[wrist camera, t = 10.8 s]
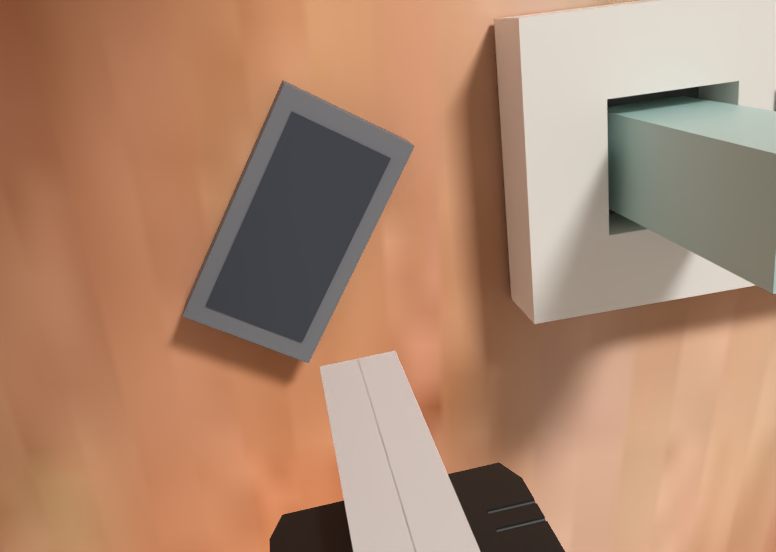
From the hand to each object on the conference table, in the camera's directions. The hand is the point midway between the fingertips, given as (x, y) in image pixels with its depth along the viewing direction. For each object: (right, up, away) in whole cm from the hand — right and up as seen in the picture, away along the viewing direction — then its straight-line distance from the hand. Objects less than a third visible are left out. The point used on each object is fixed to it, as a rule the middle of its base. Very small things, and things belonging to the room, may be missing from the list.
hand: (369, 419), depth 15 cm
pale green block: (+11, +8, +17) cm, 22 cm away
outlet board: (+13, +9, +18) cm, 24 cm away
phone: (-4, +5, +16) cm, 18 cm away
